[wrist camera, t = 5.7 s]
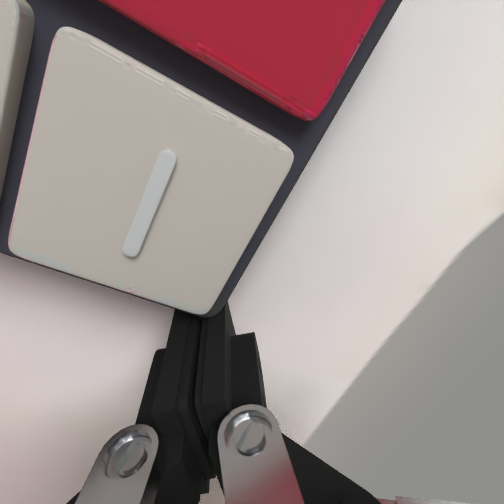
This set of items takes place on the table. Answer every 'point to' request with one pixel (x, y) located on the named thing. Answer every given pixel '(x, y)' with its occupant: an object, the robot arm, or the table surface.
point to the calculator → (166, 131)
